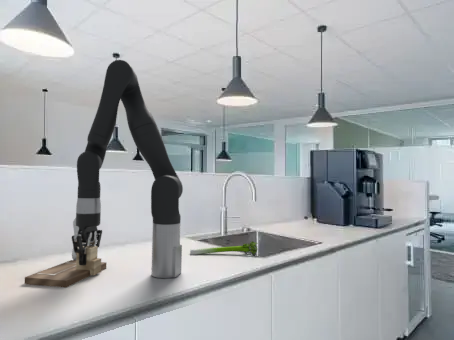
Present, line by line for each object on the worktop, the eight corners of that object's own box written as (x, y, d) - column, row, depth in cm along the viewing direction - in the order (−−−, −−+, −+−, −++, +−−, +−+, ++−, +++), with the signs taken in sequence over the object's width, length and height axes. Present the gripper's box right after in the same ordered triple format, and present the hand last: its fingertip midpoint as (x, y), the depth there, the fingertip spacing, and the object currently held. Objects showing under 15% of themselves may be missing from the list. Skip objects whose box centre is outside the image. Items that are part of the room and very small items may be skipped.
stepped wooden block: (101, 271, 107) (101, 246, 107) (94, 275, 103) (94, 248, 103) (80, 270, 108) (80, 245, 108) (72, 273, 104) (73, 247, 104)
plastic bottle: (69, 263, 118) (71, 209, 119) (73, 258, 125) (75, 208, 126) (88, 262, 120) (90, 209, 121) (91, 258, 127) (92, 207, 127)
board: (106, 268, 113) (106, 262, 113) (66, 287, 92) (66, 280, 92) (71, 265, 116) (71, 259, 116) (24, 283, 95) (24, 276, 95)
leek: (190, 257, 140) (258, 251, 142) (190, 263, 133) (260, 257, 135) (189, 243, 140) (257, 238, 141) (189, 249, 133) (260, 243, 135)
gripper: (85, 214, 98) (84, 270, 98) (110, 209, 112) (108, 258, 112) (64, 213, 100) (62, 268, 99) (90, 209, 114) (89, 257, 113)
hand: (87, 263), depth 106 cm, fingers closed on stepped wooden block, 4 cm apart
